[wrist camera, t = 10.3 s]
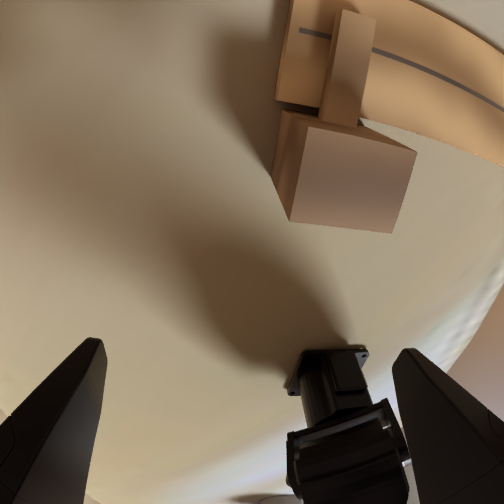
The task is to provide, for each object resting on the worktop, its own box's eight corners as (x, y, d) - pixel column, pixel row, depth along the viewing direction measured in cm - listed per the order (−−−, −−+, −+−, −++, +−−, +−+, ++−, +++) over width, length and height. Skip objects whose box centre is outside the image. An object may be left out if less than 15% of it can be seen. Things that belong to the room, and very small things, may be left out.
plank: (511, 169, 19) (520, 175, 18) (273, 99, 16) (277, 100, 15) (530, 82, 15) (541, 84, 14) (295, -30, 12) (300, -37, 11)
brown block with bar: (349, 187, 19) (391, 233, 14) (270, 176, 18) (289, 221, 13) (381, 33, 14) (441, 26, 9) (298, 9, 13) (333, -17, 8)
